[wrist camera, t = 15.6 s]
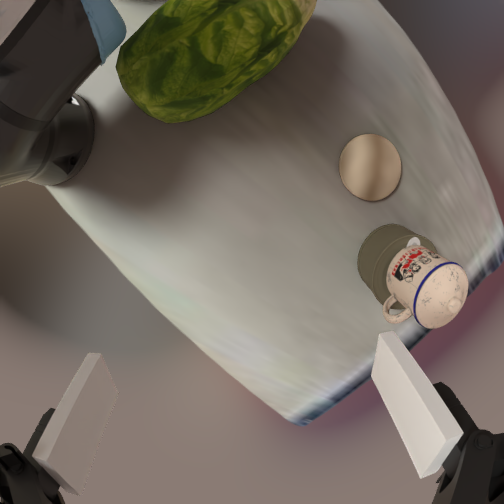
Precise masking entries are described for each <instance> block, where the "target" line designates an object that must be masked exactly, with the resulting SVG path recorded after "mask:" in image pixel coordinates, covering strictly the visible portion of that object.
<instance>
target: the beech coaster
mask: <svg viewBox="0 0 504 504" xmlns="http://www.w3.org/2000/svg"><path fill="white" fill-rule="evenodd" d="M339 173H340V177H341V180H342V182H343V184H344V185H345V187H346V188H347V189H348V190H349V191H350V192H351V193H352V194H353V195H355V196H357V197H359V198H361V199H364V200H368V201H376V200H380V199H383V198H385V197H387V196H388V195H389V194H391V193H392V192H393V190H394V189H395V188H396V186H397V184H398V182H399V179H400V176H401V161H400V157H399V154H398V152H397V150H396V148H395V147H394V146H393V144H392V143H391V142H390V141H388V140H387V139H386V138H384V137H382V136H379V135H376V134H364V135H359V136H357V137H355V138H353V139H352V140H350V141H349V142H348V143H347V144H346V146H345V147H344V149H343V150H342V153H341V155H340V159H339Z"/></svg>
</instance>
